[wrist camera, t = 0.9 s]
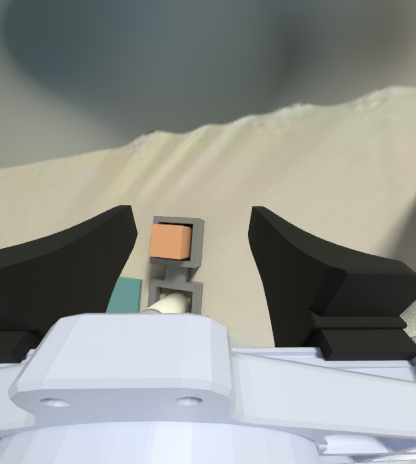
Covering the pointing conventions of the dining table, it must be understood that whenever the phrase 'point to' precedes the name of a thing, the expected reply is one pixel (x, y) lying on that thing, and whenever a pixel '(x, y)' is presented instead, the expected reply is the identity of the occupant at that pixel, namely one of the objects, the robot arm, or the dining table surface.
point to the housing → (180, 265)
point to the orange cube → (170, 241)
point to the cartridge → (170, 304)
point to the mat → (125, 296)
